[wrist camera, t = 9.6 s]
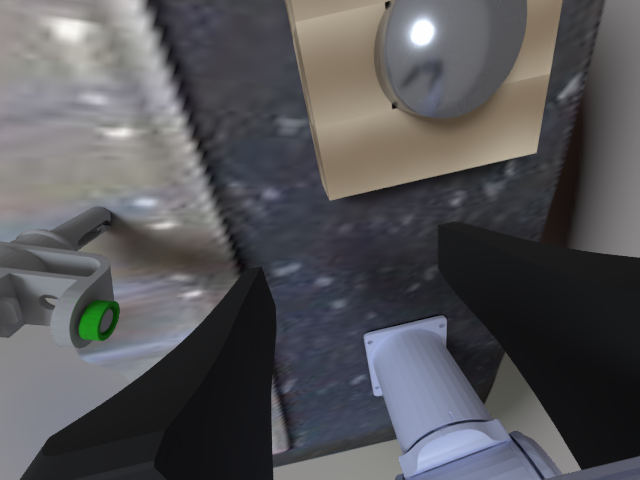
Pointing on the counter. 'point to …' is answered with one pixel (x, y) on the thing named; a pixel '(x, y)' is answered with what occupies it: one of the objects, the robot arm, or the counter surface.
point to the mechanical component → (59, 282)
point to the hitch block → (395, 125)
